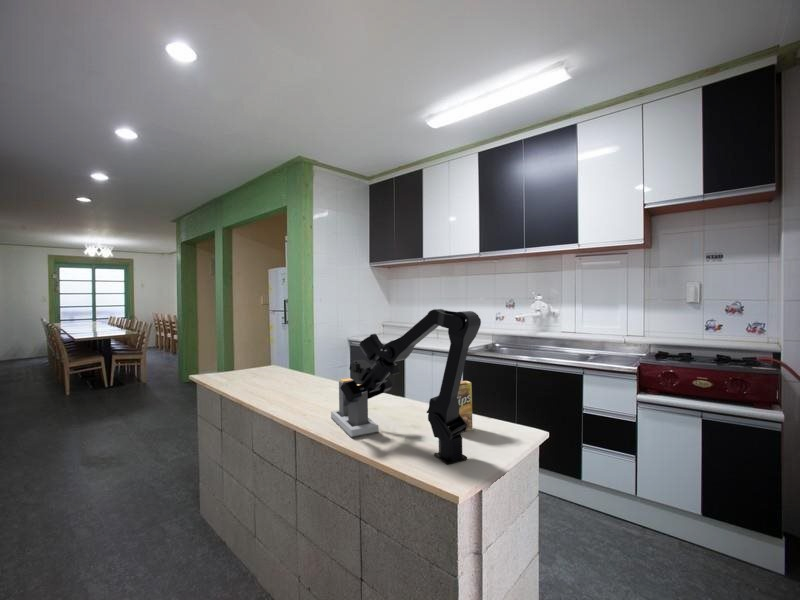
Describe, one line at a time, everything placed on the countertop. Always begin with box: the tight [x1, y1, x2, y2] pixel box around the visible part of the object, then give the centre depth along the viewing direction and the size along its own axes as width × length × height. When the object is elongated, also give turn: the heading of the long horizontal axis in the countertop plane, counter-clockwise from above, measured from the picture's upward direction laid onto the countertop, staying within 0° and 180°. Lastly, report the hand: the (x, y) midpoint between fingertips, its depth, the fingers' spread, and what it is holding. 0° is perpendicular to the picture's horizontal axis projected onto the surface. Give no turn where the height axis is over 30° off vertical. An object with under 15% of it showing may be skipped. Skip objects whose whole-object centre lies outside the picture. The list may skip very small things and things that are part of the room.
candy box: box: [457, 379, 474, 432], centre depth 116 cm, size 9×4×15 cm, turn 107°
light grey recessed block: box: [330, 409, 379, 439], centre depth 122 cm, size 22×9×2 cm, turn 27°
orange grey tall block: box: [348, 383, 369, 427], centre depth 117 cm, size 4×4×14 cm
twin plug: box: [338, 377, 353, 417], centre depth 127 cm, size 4×4×14 cm
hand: (355, 401), depth 118 cm, fingers open, 9 cm apart
